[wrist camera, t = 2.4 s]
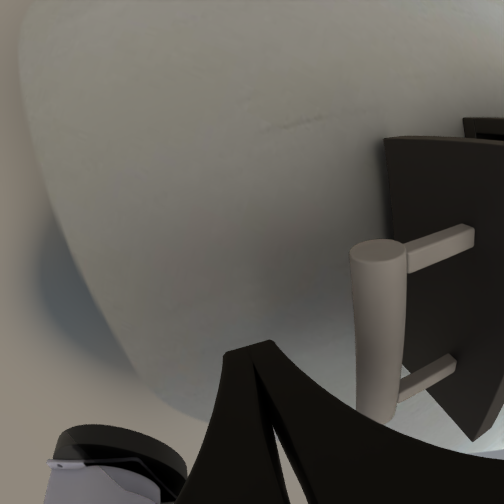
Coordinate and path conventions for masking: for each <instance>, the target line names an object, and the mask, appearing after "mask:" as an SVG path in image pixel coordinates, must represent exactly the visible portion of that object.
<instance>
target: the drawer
mask: <svg viewBox="0 0 504 504" xmlns="http://www.w3.org/2000/svg"><path fill="white" fill-rule="evenodd" d="M383 141H384V147H385V154H386V161H387V168H388V176H389V185H390V194H391V204H392V216H393V230H394V240H390V239H374V240H368V241H364V242H361V243H358V244H356V245H355V246H353V247H352V248H351V249H350V252H349V259H350V269H351V280H352V293H353V307H354V324H355V347H356V411H358V412H359V413H361V414H363V415H365V416H367V417H368V418H370V419H372V420H374V421H376V422H378V423H380V424H382V425H383V424H385V423H387V422H389V421H390V420H391V419H392V418H393V416H394V414H395V411H396V405H397V403H400V402H402V401H404V400H406V399H408V398H410V397H412V396H414V395H416V394H417V393H419V392H421V391H423V390H425V389H426V390H427V392H428V393H429V394H430V395H431V396H432V397H433V398H434V399H435V400H436V402H437V403H438V404H439V405H440V406H441V407H442V408H443V409H444V411H445V412H446V413H447V414H448V415H449V416H450V417H451V418H452V420H453V421H454V422H455V423H456V424H457V425H458V426H459V428H460V429H461V430H462V431H463V432H464V433H465V434H466V436H467V437H468V438H469V439H470V440H471V441H472V442H474V441H475V440H476V439H478V438H479V437H480V436H481V435H483V434H484V433H485V432H486V431H488V430H489V429H490V428H491V427H492V425H493V424H494V422H495V420H496V418H497V416H498V414H499V412H500V410H501V408H502V406H503V404H504V141H497V140H487V139H475V138H460V137H439V136H399V137H391V138H384V139H383ZM402 364H403V365H404V366H405V368H406V369H407V370H408V371H409V372H410V373H411V374H410V375H408V376H406V377H404V378H402V379H400V376H401V368H402Z"/></svg>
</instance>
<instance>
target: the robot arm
mask: <svg viewBox="0 0 504 504" xmlns="http://www.w3.org/2000/svg"><path fill="white" fill-rule="evenodd" d="M272 425H273V426H272ZM273 428H274V430H275V432H276V434H277V436H278V439H279V441H280V443H281V445H282V447H283V449H284V451H285V454H286V455H287V458H288V460H289V462H290V464H291V466H292V468H293V470H294V472H295V474H296V476H297V478H298V481H299V483H300V484H301V487H302V489H303V492H304V494H305V496H306V499H307V502H308V504H504V460H500V459H492V458H484V457H479V456H474V455H469V454H464V453H460V452H456V451H452V450H448V449H444V448H441V447H437V446H434V445H432V444H429V443H426V442H423V441H420V440H418V439H415V438H412V437H409V436H407V435H404V434H402V433H399V432H397V431H395V430H392V429H390V428H388V427H386V426H384V425H382V424H380V423H378V422H376V421H374V420H372V419H370V418H368V417H367V416H365V415H363V414H361V413H359V412H358V411H356V410H354V409H353V408H351V407H350V406H348V405H346V404H345V403H343V402H342V401H340V400H339V399H337V398H336V397H335V396H333V395H332V394H330V393H329V392H327V391H326V390H325V389H323V388H322V387H321V386H320V385H318V384H317V383H316V382H315V381H313V380H312V379H311V378H310V377H309V376H307V375H306V374H305V373H304V372H303V371H301V370H300V369H299V368H298V367H297V366H296V365H295V364H294V363H293V362H292V361H291V360H290V359H289V358H288V357H287V356H286V355H285V354H284V353H283V352H282V351H281V350H280V349H279V347H278V346H277V345H276V344H275V342H274V341H272V340H266V341H263V342H259V343H256V344H253V345H249V346H246V347H242V348H239V349H235V350H231V351H228V352H226V353H225V354H224V355H223V364H222V373H221V379H220V384H219V389H218V393H217V397H216V401H215V405H214V409H213V413H212V416H211V419H210V422H209V426H208V429H207V432H206V435H205V438H204V441H203V444H202V446H201V449H200V451H199V454H198V456H197V459H196V461H195V463H194V465H193V468H192V470H191V472H190V474H189V476H188V478H187V480H186V482H185V484H184V486H183V488H182V490H181V492H180V494H179V496H178V498H177V496H176V495H175V494H174V493H173V492H172V491H170V490H169V489H168V488H167V487H166V486H165V485H164V484H163V483H162V482H161V481H160V480H159V478H158V477H157V476H156V475H155V474H154V473H153V472H152V471H151V470H150V469H149V468H148V467H147V466H146V465H145V464H144V462H143V461H142V460H141V459H139V458H137V457H126V458H112V459H89V460H58V459H48V460H47V462H46V463H47V465H48V466H49V467H50V468H51V469H52V470H51V474H50V478H49V482H48V486H47V490H46V495H45V500H44V504H160V503H168V502H175V503H174V504H290V501H289V497H288V493H287V490H286V486H285V482H284V477H283V473H282V468H281V464H280V459H279V454H278V449H277V445H276V440H275V435H274V431H273Z"/></svg>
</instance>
